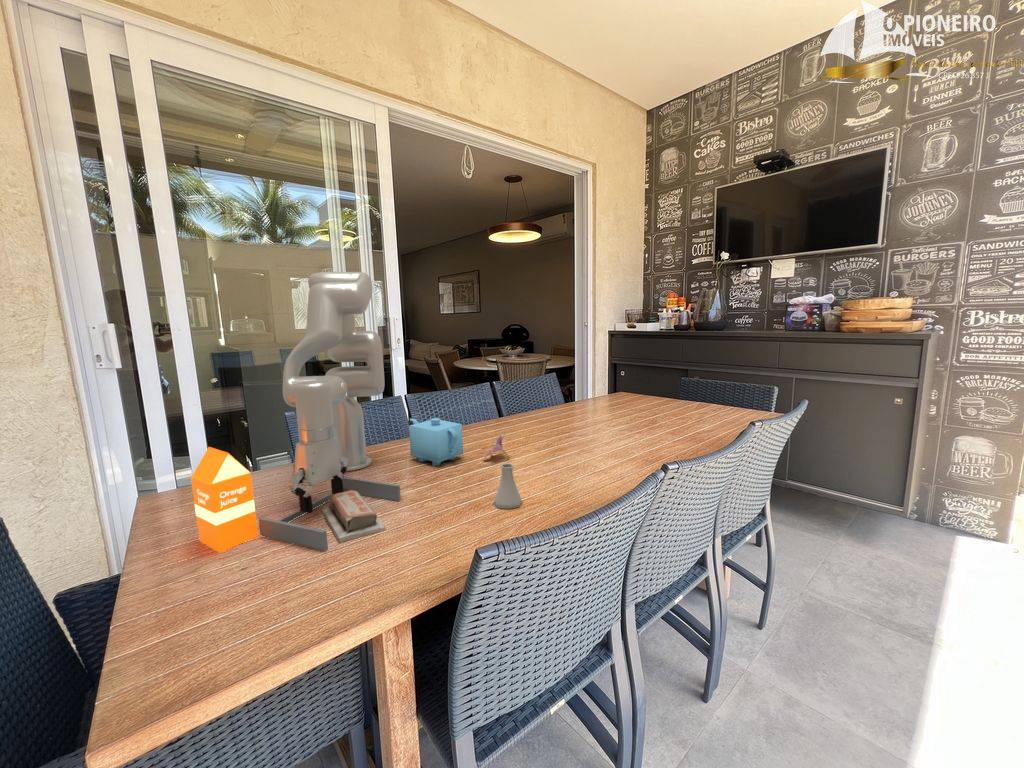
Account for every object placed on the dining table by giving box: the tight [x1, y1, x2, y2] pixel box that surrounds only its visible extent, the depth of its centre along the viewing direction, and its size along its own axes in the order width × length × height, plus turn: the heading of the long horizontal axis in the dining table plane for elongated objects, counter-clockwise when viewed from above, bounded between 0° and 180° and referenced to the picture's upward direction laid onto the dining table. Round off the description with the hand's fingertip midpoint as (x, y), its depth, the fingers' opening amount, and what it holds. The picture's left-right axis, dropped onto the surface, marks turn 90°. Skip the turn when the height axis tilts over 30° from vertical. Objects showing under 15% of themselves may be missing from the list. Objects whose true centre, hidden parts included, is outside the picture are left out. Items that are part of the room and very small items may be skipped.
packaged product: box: [321, 490, 386, 543], centre depth 98 cm, size 18×5×10 cm
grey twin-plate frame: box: [258, 476, 402, 552], centre depth 100 cm, size 18×26×4 cm
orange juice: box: [190, 446, 259, 553], centre depth 89 cm, size 8×9×20 cm
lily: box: [482, 432, 510, 462], centre depth 139 cm, size 12×12×10 cm
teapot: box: [408, 417, 464, 467], centre depth 140 cm, size 22×11×14 cm, turn 53°
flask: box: [493, 462, 523, 510], centre depth 106 cm, size 7×7×10 cm
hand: (322, 502), depth 102 cm, fingers open, 9 cm apart
